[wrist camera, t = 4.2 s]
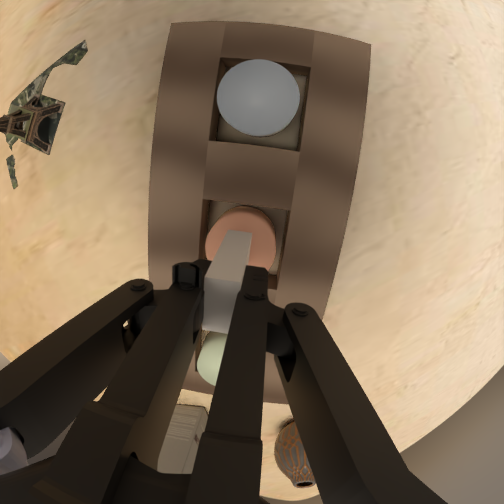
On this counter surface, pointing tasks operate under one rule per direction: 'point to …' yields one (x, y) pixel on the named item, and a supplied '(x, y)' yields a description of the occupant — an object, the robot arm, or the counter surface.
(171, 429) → the skincare box
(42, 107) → the eiffel tower figurine
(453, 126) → the counter surface
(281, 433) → the vase
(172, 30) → the button board
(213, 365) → the button sage
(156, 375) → the robot arm
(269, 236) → the button terracotta
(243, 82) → the button slate
